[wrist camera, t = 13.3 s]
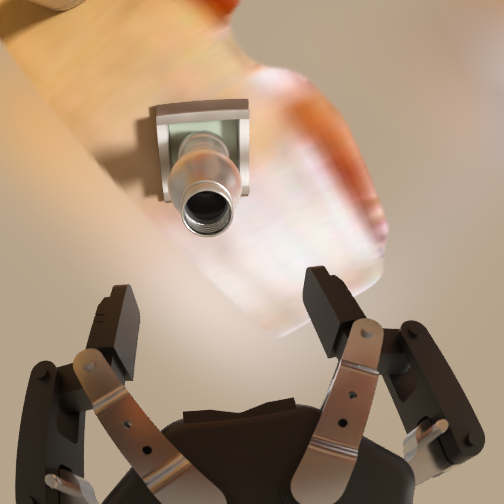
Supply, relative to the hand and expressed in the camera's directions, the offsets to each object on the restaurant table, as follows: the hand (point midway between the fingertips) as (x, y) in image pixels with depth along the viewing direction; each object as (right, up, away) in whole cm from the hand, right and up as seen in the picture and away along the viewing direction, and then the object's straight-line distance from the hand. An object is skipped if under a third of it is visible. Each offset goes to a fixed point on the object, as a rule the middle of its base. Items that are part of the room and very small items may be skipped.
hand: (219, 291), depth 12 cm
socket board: (-5, +16, +24) cm, 29 cm away
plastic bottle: (-5, +15, +23) cm, 28 cm away
